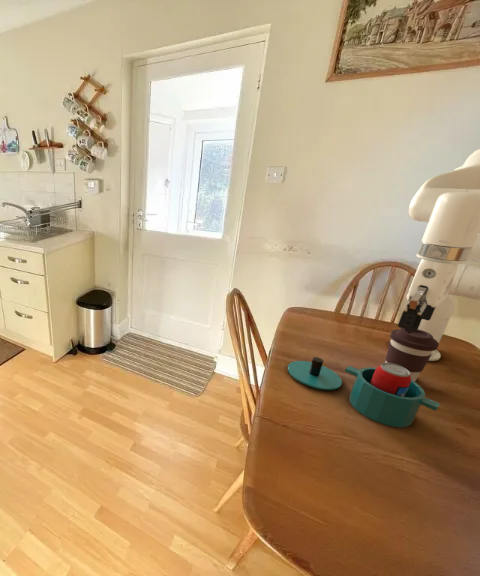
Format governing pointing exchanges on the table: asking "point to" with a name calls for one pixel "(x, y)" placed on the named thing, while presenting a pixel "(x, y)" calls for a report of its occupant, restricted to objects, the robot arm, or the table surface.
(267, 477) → the table surface
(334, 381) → the lid
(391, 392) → the beverage can
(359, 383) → the pot
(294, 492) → the table surface
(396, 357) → the coffee cup
